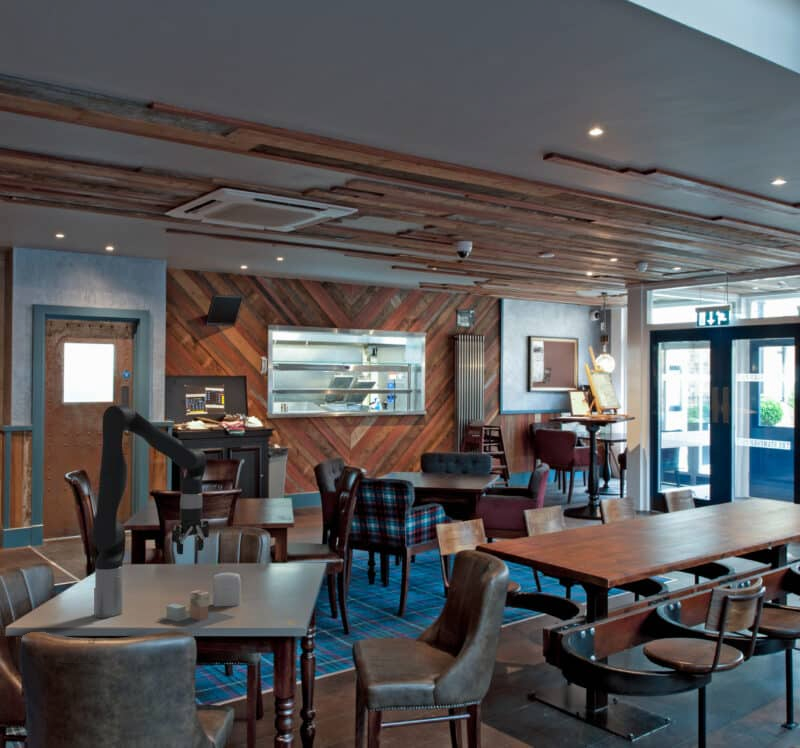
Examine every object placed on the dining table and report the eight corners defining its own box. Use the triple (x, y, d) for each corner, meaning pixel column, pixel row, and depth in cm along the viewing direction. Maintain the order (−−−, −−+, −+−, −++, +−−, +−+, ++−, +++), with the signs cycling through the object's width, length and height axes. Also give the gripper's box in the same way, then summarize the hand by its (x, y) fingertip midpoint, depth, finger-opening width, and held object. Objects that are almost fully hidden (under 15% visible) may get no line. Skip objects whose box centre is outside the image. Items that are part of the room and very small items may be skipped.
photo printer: (212, 608, 293) (212, 574, 293) (213, 604, 297) (213, 571, 298) (240, 607, 294) (240, 573, 294) (241, 604, 298) (241, 571, 299)
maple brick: (190, 604, 279) (190, 592, 279) (198, 602, 282) (198, 590, 282) (201, 607, 275) (201, 594, 275) (209, 605, 278) (209, 592, 278)
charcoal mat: (157, 620, 277) (157, 619, 277) (198, 609, 292) (198, 607, 292) (194, 631, 265) (194, 629, 265) (235, 618, 280) (235, 616, 280)
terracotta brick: (189, 617, 279) (189, 604, 279) (197, 615, 282) (197, 602, 282) (200, 620, 275) (200, 607, 275) (208, 618, 278) (208, 605, 278)
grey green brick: (166, 618, 278) (166, 605, 278) (174, 616, 281) (174, 603, 281) (177, 621, 274) (177, 608, 274) (185, 619, 277) (185, 606, 277)
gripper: (200, 502, 287) (199, 547, 287) (167, 507, 276) (166, 554, 275) (214, 505, 282) (213, 550, 282) (181, 509, 271) (180, 557, 271)
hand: (190, 552), depth 279 cm, fingers open, 8 cm apart
